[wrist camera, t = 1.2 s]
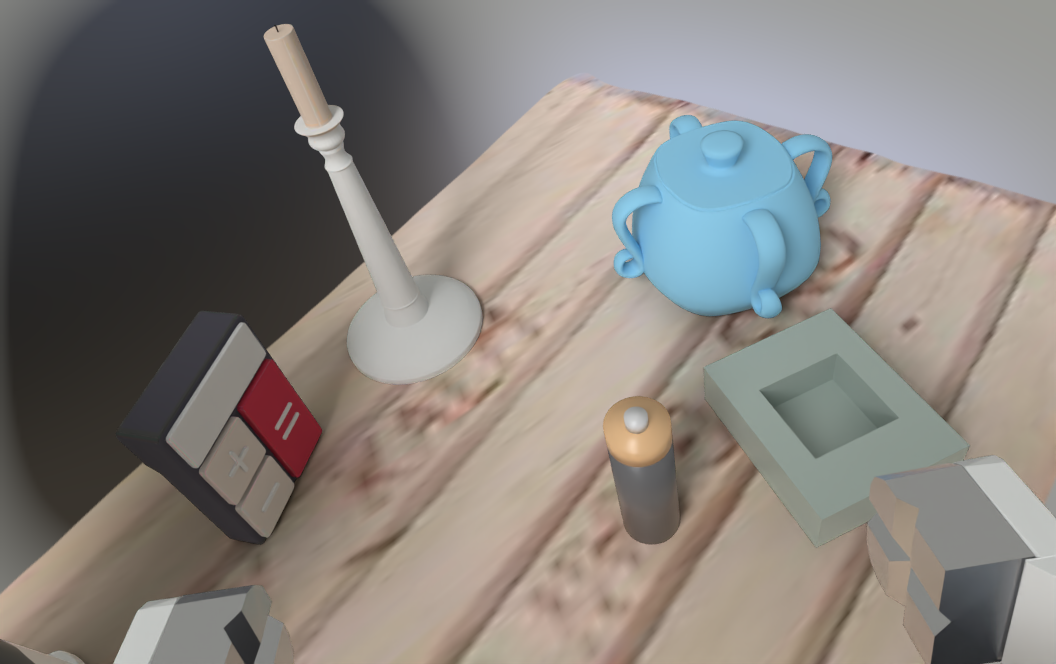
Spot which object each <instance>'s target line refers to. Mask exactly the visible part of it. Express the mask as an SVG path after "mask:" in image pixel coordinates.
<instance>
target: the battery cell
mask: <svg viewBox="0 0 1056 664" xmlns="http://www.w3.org/2000/svg"><path fill="white" fill-rule="evenodd" d="M603 429H604V434H605V439H606V444H607V448H608V453H609V458H610V462H611V467H612V472H613V476H614V481H615V486H616V490H617V495H618V500H619V504H620V509H621V514H622V518H623V523H624V526H625V529H626V531H627V532H628V534H629V535H630V536H631V537H632V538H634V539H635V540H637V541H639V542H641V543H644V544H659V543H662V542H665V541H667V540H668V539H670V538H671V537H672V536H673V535H674V534H675V533H676V531H677V529H678V527H679V524H680V512H679V502H678V491H677V481H676V470H675V460H674V449H673V439H672V428H671V419H670V416H669V413H668V411H667V410H666V409H665V407H664V406H663V405H662V404H660V403H659V402H657V401H656V400H653V399H651V398H647V397H640V396H637V397H629V398H625V399H623V400H621V401H619V402H617V403H616V404H614V405H613V406H612V407H611V408H610V409H609V410H608V412H607V413H606V415H605V418H604V422H603Z"/></svg>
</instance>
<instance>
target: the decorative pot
mask: <svg viewBox="0 0 1056 664" xmlns="http://www.w3.org/2000/svg"><path fill="white" fill-rule="evenodd" d="M810 151H814V157H813V160H812V163H811V166H810V168H809V170H808V172H807V175H806V177H805V179H803V177H802V175H801V173H800V172H799V170H798V168H797V166H796V165H795V163H794V161H793V160H794V159H795V158H796V157H798V156H800V155H802V154H804V153H807V152H810ZM831 163H832V151H831V149H830V147H829V145H828V144H827V143H826V142H825V141H824V140H823V139H821V138H820V137H817V136H814V135H809V134H804V135H798V136H795V137H793V138H790V139H788V140H787V141H785V142H783V143H782V144H781V143H780V142H779V141H778V140H776V139H775V138H774V137H773V136H772V135H770V134H769V133H768V132H766V131H765V130H763V129H761V128H760V127H758V126H755V125H753V124H750V123H747V122H743V121H726V122H720V123H716V124H712V125H708V126H704V127H702V125H701V123H700V122H699V120H698V119H697V118H696V117H695V116H692V115H684V116H680V117H678V118H676V119H674V120H673V121H672V122H671V124H670V140H668V141H666V142H665V143H663V144H662V145H661V146H660V147H659V148H658V149H657V150H656V152H655V154H654V155H653V157H652V158H651V160H650V162H649V164H648V166H647V168H646V171H645V173H644V175H643V177H642V180H641V182H640V185H639V187H638V188H635V189H633V190H631V191H629V192H628V193H626V194H625V195H624V196H622V197H621V198H620V199H619V200H618V202H617V203H616V205H615V206H614V209H613V212H612V222H613V226H614V229H615V232H616V233H617V235H618V237H619V239H620V240H621V242H622V243H623V245H624V246H625V247H626V249H623V250H621V251H619V252H618V253H617V254H616V256H615V258H614V268H615V271H616V272H617V273H618V274H619V275H620V276H622V277H625V278H636V277H638V276H640V275H642V274H643V273H645V275H646V276H647V278H648V279H649V280H650V281H651V283H652V284H653V285H654V286H655V287H656V288H657V289H658V290H659V291H660V292H661V293H663V294H664V295H665V296H666V297H667V298H669V299H670V300H671V301H672V302H674V303H675V304H677V305H678V306H680V307H681V308H683V309H685V310H687V311H689V312H692V313H695V314H698V315H703V316H721V315H727V314H732V313H736V312H741V311H744V310H748V309H751V308H753V309H754V311H755V312H756V313H757V314H758V315H759V316H760V317H763V318H773V317H775V316H777V315H778V314H779V313H780V312H781V311H782V305H781V302H780V299H779V298H780V297H782V296H784V295H785V294H787V293H789V292H791V291H792V290H794V289H796V288H797V287H798V286H799V285H801V284H802V283H803V282H804V281H806V280H807V279H808V278H809V277H810V276H811V274H812V273H813V272H814V270H815V268H816V266H817V264H818V262H819V256H820V247H821V243H820V230H819V223H818V218H819V217H820V216H822V215H823V214H824V213H826V211H827V210H828V209H829V207H830V196H829V194H828V192H827V191H826V190H825V189H823V188H822V186H823V184H824V182H825V180H826V177H827V175H828V173H829V170H830V167H831ZM632 212H633V219H632V235H631V233H630V232H629V230H628V228H627V226H626V219H627V217H628V216H629V215H630V214H631V213H632ZM632 258H633V259H632ZM629 259H632V260H631V261H629V262H625V261H627V260H629Z"/></svg>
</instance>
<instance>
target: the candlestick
mask: <svg viewBox="0 0 1056 664" xmlns="http://www.w3.org/2000/svg"><path fill="white" fill-rule="evenodd" d="M274 26H275V27H273V28H271V29H269V30H268V31H267V32H266V33H265V34H264V39H265V41H266V43H267V45H268V47H269V50H270V52H271V54H272V56H273V57H274V60H275V62H276V64H277V66H278V68H279V70H280V72H281V75H282V77H283V79H284V81H285V83H286V85H287V87H288V89H289V91H290V93H291V95H292V98H293V100H294V102H295V104H296V106H297V108H298V110H299V112H300V114H301V117H300V118H299V119H298V120H297V121H296V123H295V127H294V128H295V130H296V132H297V133H299V134H300V135H304V136H307V137H308V141H309V144H310V146H312V148H313V149H315V150H318V151H319V152H320V153H321V154H322V155H323V156H324V157H325V160H326V162H325V169H326V170H327V171H328V173H329V175H330V178H331V180H332V182H333V185H334V188H335V190H336V192H337V195H338V197H339V200H340V202H341V205H342V207H343V209H344V212H345V214H346V217H347V219H348V222H349V224H350V227H351V229H352V231H353V234H354V236H355V238H356V241H357V243H358V246H359V249H360V251H361V253H362V256H363V258H364V261H365V263H366V266H367V268H368V270H369V273H370V275H371V278H372V280H373V283H374V285H375V288H376V290H377V293H375V294H374V295H373V296H372V297H371V298H369V299H368V300H367V301H366V302H365V303H364V304H363V305H362V307H361V308H360V309H359V310H358V312H357V313H356V315H355V316H354V318H353V320H352V322H351V324H350V327H349V330H348V334H347V348H348V352H349V355H350V358H351V360H352V361H353V363H354V365H355V366H356V367H357V369H358V370H359V371H360V372H361V373H362V374H364V375H365V376H367V377H368V378H370V379H372V380H375V381H377V382H381V383H386V384H394V385H403V384H412V383H417V382H421V381H425V380H428V379H431V378H433V377H435V376H438V375H440V374H442V373H443V372H445V371H447V370H449V369H450V368H452V367H453V366H454V365H456V364H457V363H458V362H459V361H460V360H462V359H463V358H464V357H465V356H466V355H467V353H468V352H469V351H470V350H471V348H472V347H473V346H474V344H475V342H476V340H477V339H478V336H479V334H480V331H481V327H482V320H483V317H482V309H481V306H480V303H479V300H478V298H477V297H476V295H475V294H474V292H473V291H472V290H471V289H470V288H469V287H468V286H467V285H465V284H464V283H462V282H461V281H459V280H456V279H454V278H451V277H447V276H441V275H419V276H413V277H412V276H411V274H410V272H409V270H408V268H407V266H406V264H405V262H404V260H403V258H402V256H401V254H400V252H399V250H398V248H397V247H396V245H395V243H394V241H393V239H392V237H391V235H390V233H389V231H388V229H387V227H386V225H385V223H384V221H383V220H382V217H381V216H380V213H379V212H378V210H377V208H376V206H375V204H374V202H373V200H372V198H371V196H370V194H369V192H368V190H367V188H366V186H365V184H364V182H363V180H362V179H361V177H360V175H359V173H358V171H357V169H356V167H355V165H354V163H353V161H352V156H351V155H349V154H347V153H346V152H345V150H344V148H343V146H344V143H343V139H344V136H345V132H344V129H343V128H342V127H341V126H340V121H341V119H342V118H343V110H342V109H341V108H340V107H338V106H334V105H327V103H326V100H325V98H324V96H323V94H322V91H321V89H320V87H319V84H318V82H317V80H316V78H315V75H314V73H313V71H312V69H311V66H310V65H309V62H308V60H307V57H306V55H305V53H304V51H303V48H302V46H301V44H300V42H299V40H298V37H297V35H296V33H295V31H294V28H293V27H292V26H291V25H289V24H282V25H278V26H276V25H274Z"/></svg>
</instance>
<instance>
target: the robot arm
mask: <svg viewBox="0 0 1056 664" xmlns="http://www.w3.org/2000/svg"><path fill="white" fill-rule="evenodd" d="M869 499H870V501H871V503H872V504H873V506H874V508H875V509H876V511H877V513H876V514H875V515H874V516H873V517H872V519H871V520H870V521H869V522H868V523H867V546H868V551H869V556H870V561H871V564H872V567H873V569H874V572H875V574H876V577H877V579H878V581H879V583H880V585H881V586H882V588H883V590H884V592H885V594H886V595H887V596H889V597H890V598H892V599H893V600H895V601H897V602H898V603H900V604H902V605H903V606H905V610H904V620H903V626H904V627H905V629H906V631H907V633H908V634H909V636H910V638H911V640H912V641H913V643H914V645H915V647H916V648H917V650H918V652H919V654H920V655H921V657H922V659H923V660H924V662H925V664H986V663H993V662H1000V661H1001V664H1056V517H1055V516H1054V515H1053V514H1052V513H1051V512H1050V511H1049V510H1048V509H1047V507H1046V506H1045V505H1044V504H1043V503H1042V502H1041V501H1040V500H1039V499H1038V497H1037V496H1036V495H1035V494H1034V493H1033V492H1032V491H1031V490H1030V489H1029V488H1028V486H1027V485H1026V484H1025V483H1024V482H1023V481H1022V480H1021V479H1020V478H1019V477H1018V475H1017V474H1016V473H1015V472H1014V471H1013V470H1012V469H1011V468H1010V467H1009V465H1008V464H1007V463H1006V462H1005V461H1004V460H1003V459H1001V458H999V457H997V456H995V455H991V456H985V457H980V458H974V459H969V460H963V461H957V462H954V463H946V464H940V465H935V466H929V467H924V468H918V469H913V470H908V471H902V472H897V473H891V474H886V475H880V476H875V477H874V479H873V481H872V482H871V484H870V494H869ZM271 603H272V601H271V599H270V598H269V596H268V594H267V593H266V591H265V589H264V588H263V586H260V585H251V586H244V587H237V588H231V589H224V590H217V591H210V592H203V593H197V594H190V595H183V596H180V597H174V598H167V599H160V600H154V601H147V602H146V603H145V604H144V605H143V606H142V607H141V608H140V609H139V610H138V611H137V613H136V615H135V617H134V619H133V621H132V623H131V626H130V628H129V630H128V632H127V634H126V637H125V639H124V641H123V643H122V645H121V647H120V650H119V652H118V654H117V656H116V658H115V661H114V663H113V664H294V650H293V646H292V642H291V639H290V635H289V633H288V631H287V629H286V627H285V625H284V623H282V622H280V621H278V620H276V619H275V618H273V617H271V616H269V615H268V614H269V611H270V607H271ZM0 664H85V663H84V662H83V661H82V660H81V659H80V658H78V657H77V656H76V655H74V654H71V653H68V652H65V651H61V650H59V651H54V652H52V653H50V654H48V655H47V654H44V653H41V652H38V651H36V650H33V649H30V648H26V647H23V646H20V645H17V644H14V643H11V642H8V641H5V640H1V639H0Z"/></svg>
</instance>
